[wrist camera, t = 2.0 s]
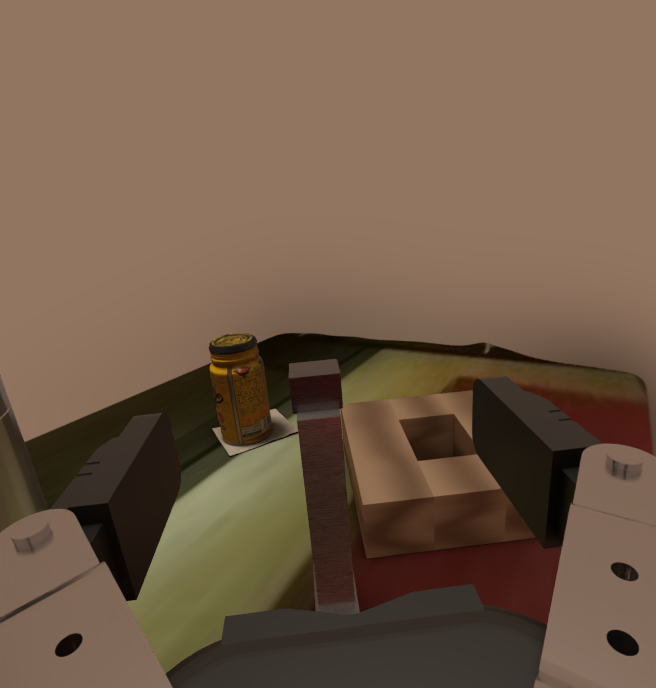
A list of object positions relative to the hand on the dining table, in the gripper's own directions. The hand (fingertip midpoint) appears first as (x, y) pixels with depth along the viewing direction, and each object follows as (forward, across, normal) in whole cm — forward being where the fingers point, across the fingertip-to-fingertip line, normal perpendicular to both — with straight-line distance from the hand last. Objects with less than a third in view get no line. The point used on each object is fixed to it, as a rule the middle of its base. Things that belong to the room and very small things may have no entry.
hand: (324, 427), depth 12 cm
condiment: (+37, +8, +21) cm, 43 cm away
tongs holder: (+24, -10, +21) cm, 34 cm away
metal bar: (+12, 0, +21) cm, 24 cm away
